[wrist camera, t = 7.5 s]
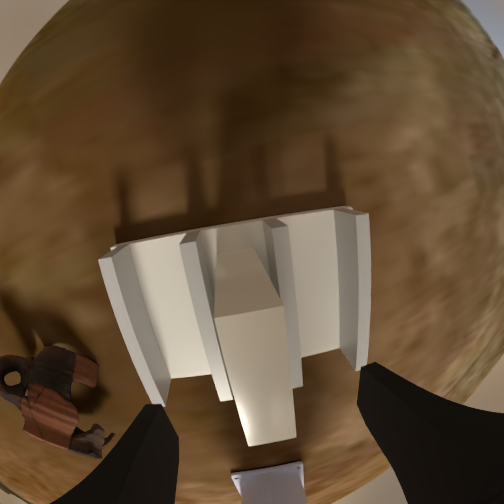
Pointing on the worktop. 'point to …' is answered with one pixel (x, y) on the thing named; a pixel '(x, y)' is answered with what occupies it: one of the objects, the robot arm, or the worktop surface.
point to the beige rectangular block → (254, 346)
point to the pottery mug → (53, 398)
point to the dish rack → (203, 292)
